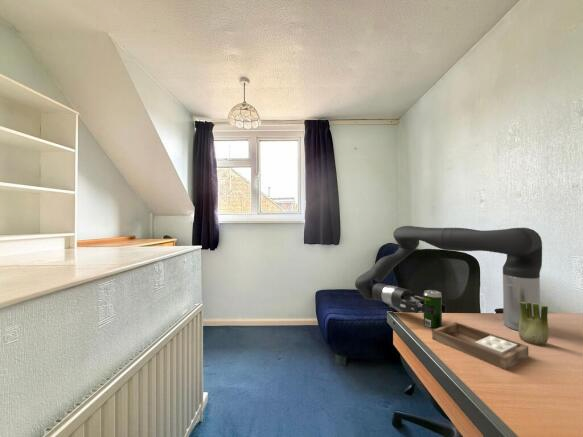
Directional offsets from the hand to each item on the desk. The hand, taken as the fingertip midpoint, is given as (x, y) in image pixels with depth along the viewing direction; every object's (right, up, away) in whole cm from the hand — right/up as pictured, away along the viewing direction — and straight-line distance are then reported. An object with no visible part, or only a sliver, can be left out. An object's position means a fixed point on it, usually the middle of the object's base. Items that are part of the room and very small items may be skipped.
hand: (440, 310), depth 84 cm
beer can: (-1, -7, +2) cm, 7 cm away
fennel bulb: (+21, -7, -10) cm, 24 cm away
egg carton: (+5, -6, -17) cm, 18 cm away
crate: (+3, -6, -13) cm, 15 cm away
